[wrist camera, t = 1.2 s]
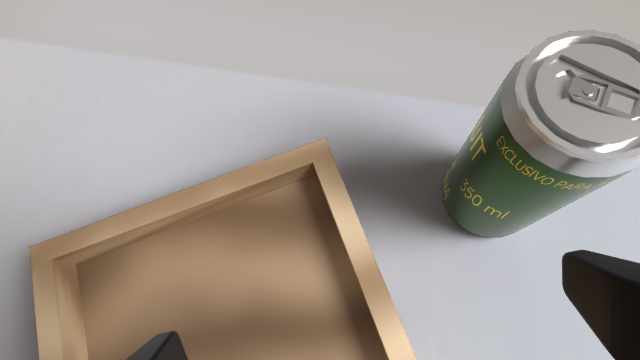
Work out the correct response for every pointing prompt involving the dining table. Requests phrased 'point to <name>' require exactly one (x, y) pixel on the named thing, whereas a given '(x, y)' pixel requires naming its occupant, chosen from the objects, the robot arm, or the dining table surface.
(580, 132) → the beer can
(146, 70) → the dining table surface
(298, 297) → the wooden tray
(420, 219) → the dining table surface
